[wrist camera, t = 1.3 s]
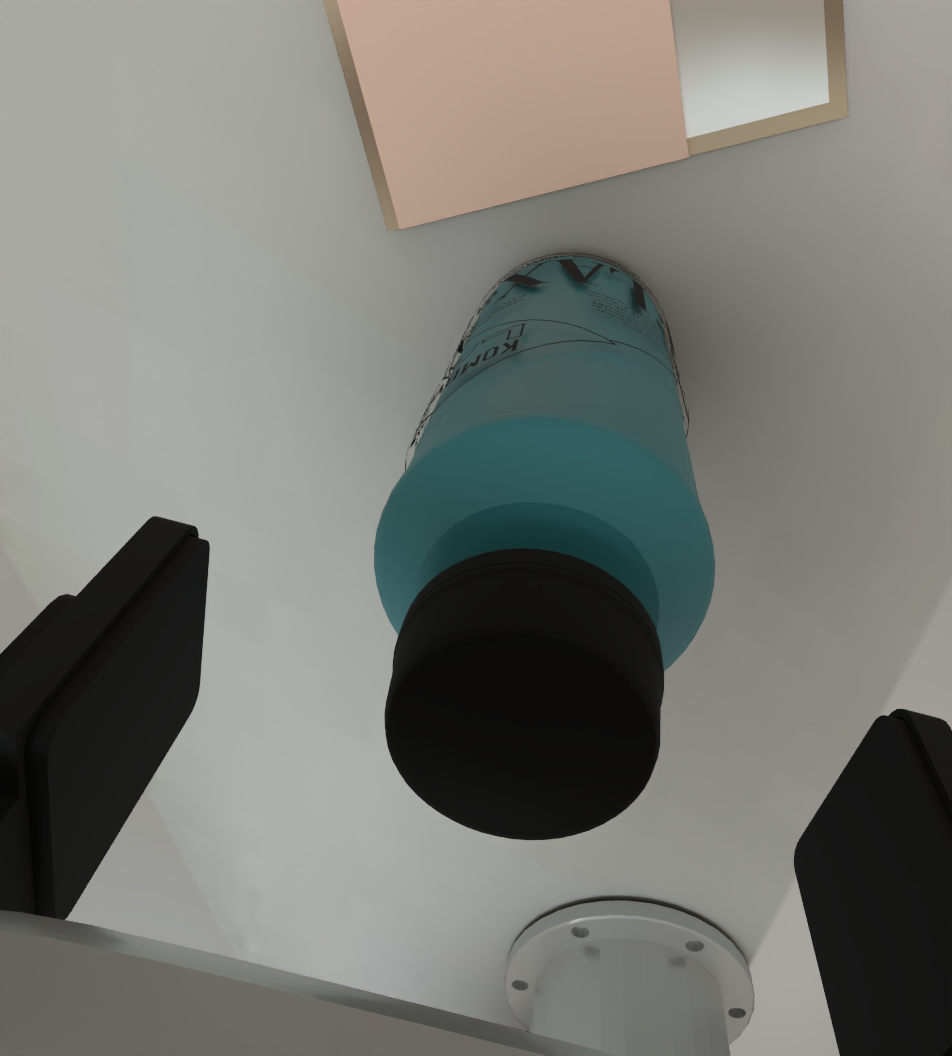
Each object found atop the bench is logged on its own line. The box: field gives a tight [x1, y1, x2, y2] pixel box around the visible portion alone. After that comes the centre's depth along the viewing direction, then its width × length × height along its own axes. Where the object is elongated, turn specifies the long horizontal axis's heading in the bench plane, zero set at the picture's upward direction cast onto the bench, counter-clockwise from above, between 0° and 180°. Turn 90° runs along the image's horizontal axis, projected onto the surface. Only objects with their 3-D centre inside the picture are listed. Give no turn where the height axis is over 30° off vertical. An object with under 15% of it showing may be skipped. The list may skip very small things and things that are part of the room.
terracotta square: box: [337, 0, 689, 229], centre depth 24 cm, size 9×9×1 cm
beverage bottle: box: [374, 253, 715, 840], centre depth 20 cm, size 6×7×20 cm
